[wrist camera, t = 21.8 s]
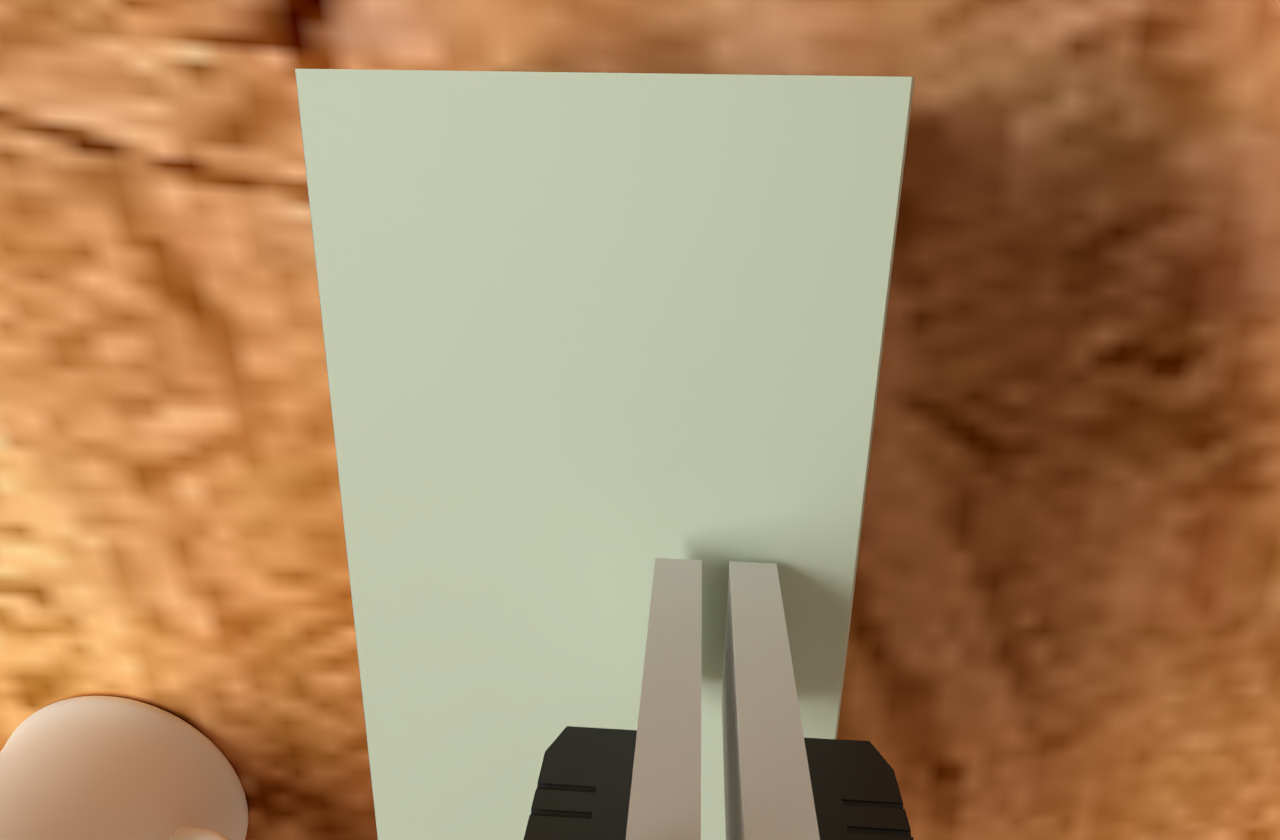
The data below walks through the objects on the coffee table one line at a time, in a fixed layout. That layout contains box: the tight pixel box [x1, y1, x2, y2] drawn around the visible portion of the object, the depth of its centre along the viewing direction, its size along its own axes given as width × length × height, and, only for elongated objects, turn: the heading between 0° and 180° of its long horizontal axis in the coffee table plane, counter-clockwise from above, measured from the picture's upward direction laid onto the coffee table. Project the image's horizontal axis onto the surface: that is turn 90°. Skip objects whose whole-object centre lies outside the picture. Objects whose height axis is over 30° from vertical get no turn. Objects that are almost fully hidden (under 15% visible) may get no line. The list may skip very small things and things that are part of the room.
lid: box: [295, 69, 915, 840], centre depth 17 cm, size 24×10×2 cm, turn 179°
